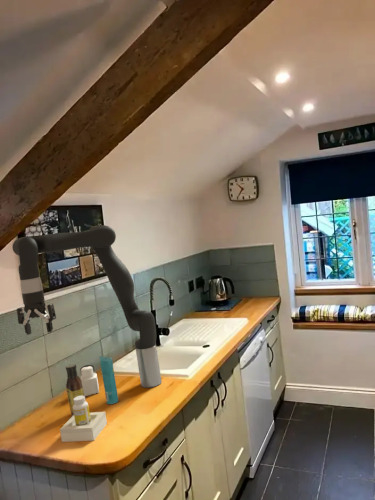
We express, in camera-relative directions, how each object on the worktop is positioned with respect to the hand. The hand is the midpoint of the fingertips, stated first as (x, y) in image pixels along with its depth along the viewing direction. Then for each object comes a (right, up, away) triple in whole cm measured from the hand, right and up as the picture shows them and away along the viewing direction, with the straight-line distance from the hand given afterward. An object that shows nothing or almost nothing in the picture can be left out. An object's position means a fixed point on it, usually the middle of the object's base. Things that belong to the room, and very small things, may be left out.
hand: (39, 333), depth 162 cm
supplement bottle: (+18, -32, -7) cm, 37 cm away
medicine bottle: (+12, -33, +32) cm, 48 cm away
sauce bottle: (+12, -34, +11) cm, 38 cm away
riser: (+19, -34, -6) cm, 40 cm away
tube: (+24, -32, +18) cm, 44 cm away
